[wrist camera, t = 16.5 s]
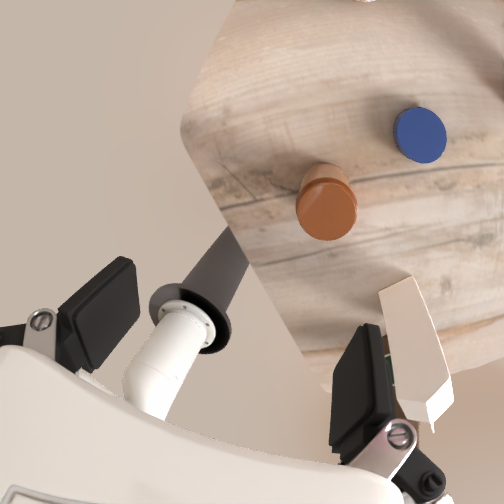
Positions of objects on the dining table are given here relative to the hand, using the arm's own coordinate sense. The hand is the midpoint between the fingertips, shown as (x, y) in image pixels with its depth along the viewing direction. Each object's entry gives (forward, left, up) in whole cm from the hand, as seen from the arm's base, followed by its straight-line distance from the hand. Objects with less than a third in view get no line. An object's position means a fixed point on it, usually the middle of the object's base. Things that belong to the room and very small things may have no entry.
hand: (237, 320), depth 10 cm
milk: (-13, -20, -26) cm, 35 cm away
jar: (0, -4, -26) cm, 26 cm away
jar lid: (+10, -14, -25) cm, 30 cm away
